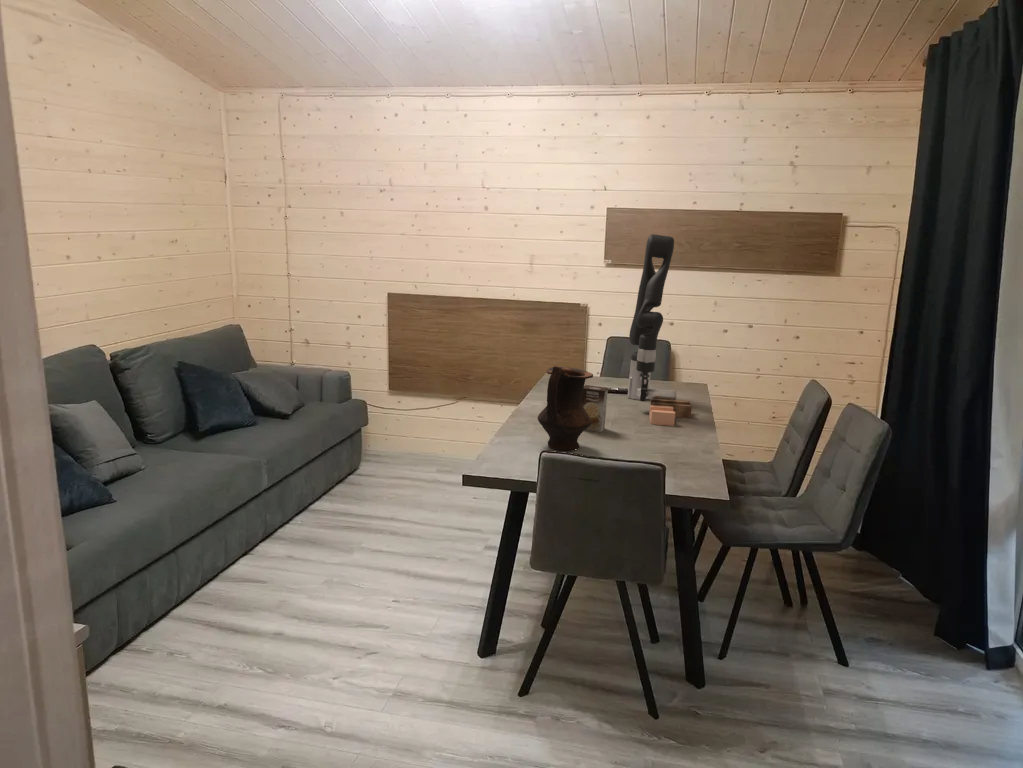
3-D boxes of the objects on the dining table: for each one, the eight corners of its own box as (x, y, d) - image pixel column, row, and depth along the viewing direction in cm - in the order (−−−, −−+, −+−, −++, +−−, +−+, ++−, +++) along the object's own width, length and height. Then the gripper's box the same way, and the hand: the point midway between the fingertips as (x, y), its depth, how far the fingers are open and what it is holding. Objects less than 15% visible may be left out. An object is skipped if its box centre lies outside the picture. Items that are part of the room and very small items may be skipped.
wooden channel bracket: (651, 415, 300) (652, 403, 298) (649, 409, 308) (650, 398, 307) (690, 418, 298) (691, 406, 297) (688, 412, 306) (689, 401, 305)
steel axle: (636, 398, 302) (637, 389, 301) (636, 396, 306) (637, 387, 305) (675, 401, 300) (676, 392, 299) (675, 399, 303) (676, 390, 303)
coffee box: (577, 429, 274) (580, 387, 271) (581, 425, 280) (584, 384, 276) (601, 432, 271) (604, 390, 268) (605, 428, 277) (608, 387, 274)
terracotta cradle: (650, 423, 286) (651, 411, 285) (649, 416, 297) (650, 405, 296) (674, 425, 285) (675, 413, 284) (671, 418, 296) (672, 406, 295)
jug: (551, 435, 264) (556, 354, 257) (598, 445, 255) (604, 361, 249) (522, 449, 246) (527, 362, 239) (572, 460, 237) (578, 370, 231)
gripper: (636, 355, 307) (632, 395, 311) (637, 362, 293) (633, 403, 297) (654, 357, 306) (650, 396, 310) (656, 363, 292) (652, 404, 296)
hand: (642, 399), depth 303 cm, fingers closed on steel axle, 4 cm apart
